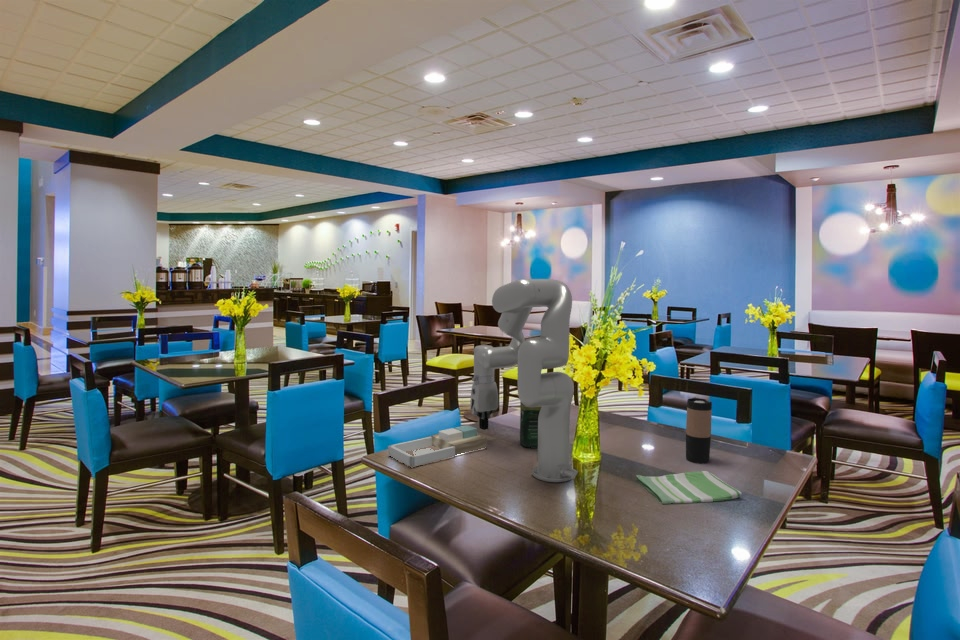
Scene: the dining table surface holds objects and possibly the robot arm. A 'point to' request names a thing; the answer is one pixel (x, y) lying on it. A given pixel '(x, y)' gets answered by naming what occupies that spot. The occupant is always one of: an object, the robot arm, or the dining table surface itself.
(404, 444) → the tray
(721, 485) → the dish towel
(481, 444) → the birch board
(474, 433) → the teal tile
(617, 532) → the dining table surface
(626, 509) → the dining table surface
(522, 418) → the coffee jar
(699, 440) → the travel mug
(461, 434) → the white tile
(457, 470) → the dining table surface
